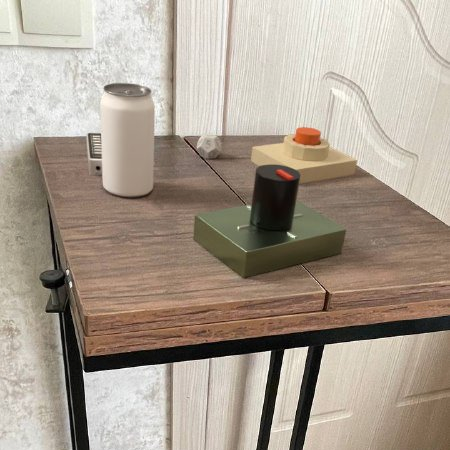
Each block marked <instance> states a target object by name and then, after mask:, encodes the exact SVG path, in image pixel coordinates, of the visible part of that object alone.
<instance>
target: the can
mask: <svg viewBox="0 0 450 450" xmlns="http://www.w3.org/2000/svg"><path fill="white" fill-rule="evenodd" d="M99 109H100V110H99V111H100V133H101V146H102V174H103V176H102V187H103V188H104V189H105V191H106V192H107V193H109V194H110V195H112V196H116V197H120V198H129V199H131V198H142V197H144V196H145V197H146V196H147V195H149V194H150V193H151V192H152V190H153V188H154V173H155V169H154V168H155V166H154V165H155V113H156V112H155V111H156V110H155V102H154V100H153V97H152V90H151V88H150V87H148V86H145V85H142V84H138V83H130V82H113V83H112V82H111V83H108V84H105V85H104V86H103V94H102V96H101V99H100V107H99Z"/></svg>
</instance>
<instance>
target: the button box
mask: <svg viewBox="0 0 450 450" xmlns="http://www.w3.org/2000/svg"><path fill="white" fill-rule="evenodd" d="M295 135H296V133H291V134H288V135H285V136H284V138H283V142H280V143H271V144H263V145H256V146H252V148H251V157H250V162H252V163H253V164H255V165H256V166H257V167H259V166H262V165H269V164H274V165H283V166H287V167H290V168H293V169H295V170H297V171H298V172H299V173H300V182H299V185H300V184H301V185H302V184H307V183H311V182H312V183H313V182H318V181H319V182H320V181H325V180H330V179H335V178H341V177H347V176H353V175H355V172H356V168H357V164H358V159H356V158H354V157H353V156H350V155H348V154H346V153H344V152H342V151H340V150H338V149H335V148H333V147H332V146H331V145H330V142H329V141H328V140H327V139H325V138H323V137H321V136H320V141H319V145H316V146H310V145H302V144H299V143H297V142H295Z"/></svg>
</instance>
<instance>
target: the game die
mask: <svg viewBox="0 0 450 450" xmlns="http://www.w3.org/2000/svg"><path fill="white" fill-rule="evenodd" d="M196 144H197V145H196V150H197V152H198V154H199V156H200V157H202V158H205V159H207V160H209V159H210V160H211V159H216V158H217V157H218V156H219V154H220V153H221V151H222V150H221V149H222V143H221V140H220V139H219V137H218V135H216V134H213V133H203V134H202V135H201V136H200V138H199V139H198V141H197V143H196Z"/></svg>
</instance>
